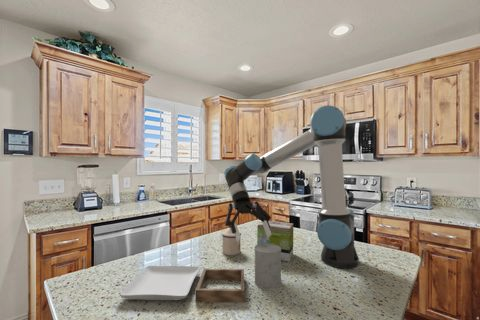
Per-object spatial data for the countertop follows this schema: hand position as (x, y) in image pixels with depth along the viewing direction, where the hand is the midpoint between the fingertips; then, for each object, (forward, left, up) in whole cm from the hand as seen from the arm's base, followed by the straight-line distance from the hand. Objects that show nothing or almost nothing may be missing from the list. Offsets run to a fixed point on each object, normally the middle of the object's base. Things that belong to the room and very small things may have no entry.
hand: (254, 238), depth 94 cm
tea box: (-10, -17, -13) cm, 24 cm away
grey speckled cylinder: (-4, +8, -13) cm, 16 cm away
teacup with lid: (+11, -22, -13) cm, 28 cm away
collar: (+12, +13, -13) cm, 22 cm away
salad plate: (+32, +12, -14) cm, 37 cm away
